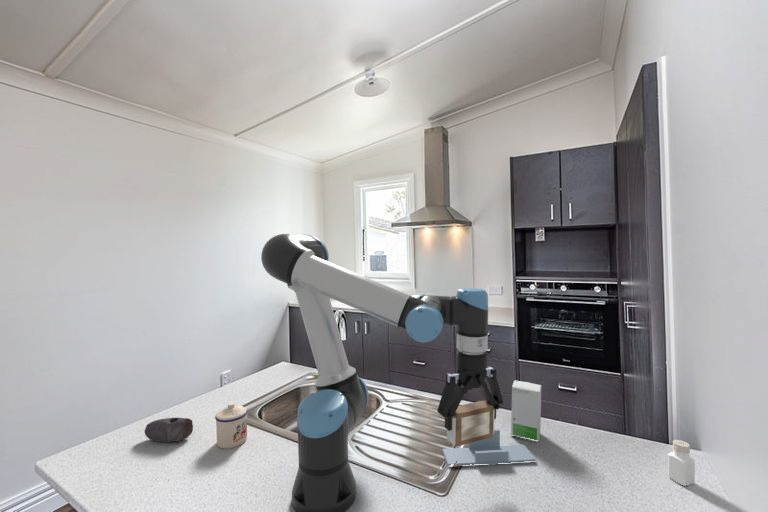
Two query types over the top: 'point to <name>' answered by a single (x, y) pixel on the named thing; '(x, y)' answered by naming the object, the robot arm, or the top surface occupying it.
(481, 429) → the walnut frame
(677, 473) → the pepper shaker
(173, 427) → the perforated stone tool
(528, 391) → the skincare box
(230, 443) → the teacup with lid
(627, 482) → the top surface
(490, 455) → the picture ledge
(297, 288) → the robot arm
